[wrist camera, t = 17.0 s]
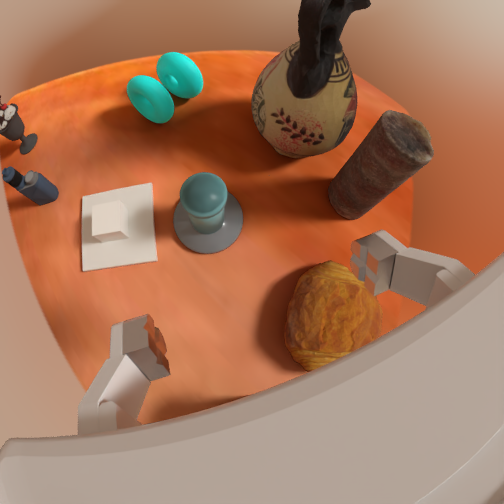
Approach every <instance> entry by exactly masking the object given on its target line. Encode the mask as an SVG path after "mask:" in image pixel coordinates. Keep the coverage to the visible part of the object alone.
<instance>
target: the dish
mask: <svg viewBox="0 0 504 504" xmlns="http://www.w3.org/2000/svg"><path fill="white" fill-rule="evenodd" d="M173 222H174V229H175V232H176V234H177V236H178V238H179V239H180V241H181V242H182V243H183V244H184V245H185V246H186V247H187V248H189V249H190V250H193V251H195V252H198V253H202V254H213V253H218V252H221V251H223V250H225V249H227V248H228V247H230V246H231V245H232V244H233V243H234V242H235V241H236V239H237V238H238V236H239V234H240V232H241V229H242V224H243V213H242V209H241V206H240V204H239V202H238V201H237V200H236V198H235V197H234V196H233V195H232V194H230V193H229V192H228V191H227V202H226V205H225V207H224V223H223V225H222V227H221V228H220V229H219V230H218V231H217V232H215V233H213V234H202V233H199V232H198V231H196V230H195V229H194V227H193V226H192V223H191V220H190V218H189V215H188V213H187V212H186V211H185V210H184V208H183V206H182V203H181V200H180V202H179V203H178V205H177V207H176V209H175V212H174V218H173Z"/></svg>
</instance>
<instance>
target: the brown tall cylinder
mask: <svg viewBox="0 0 504 504" xmlns="http://www.w3.org/2000/svg"><path fill="white" fill-rule="evenodd" d="M430 140H431V137H430V134H429V132H428V130H427V129H426V128H425V127H424V126H423V124H422V123H421V122H420V121H417V120H415V119H413V118H412V117H410V116H408V115H406V114H404V113H399V112H396V111H392V110H389V111H386V112H385V113H383V114H382V116H381V117H380V119H379V120H378V121H377V123H376V124H375V125H374V127H373V128H372V129H371V131H370V132H369V133H368V135H367V136H366V138H365V139H364V140H363V141H362V143H361V144H360V145H359V146H358V148H357V149H356V150H355V152H354V153H353V155H352V156H351V157H350V158H349V160H348V161H347V162H346V163H345V165H344V166H343V167H342V168H341V170H340V171H339V172H338V174H337V175H336V176H335V178H334V179H333V180H332V182H331V183H330V185H329V188H328V193H329V199H330V202H331V205H332V206H333V207H334V209H335V210H336V212H337V213H338V214H340V215H341V216H343V217H345V218H347V219H349V220H354V219H358V218H360V217H361V216H363V215H364V214H365V213H366V212H368V211H369V210H370V209H372V208H373V207H374V206H375V205H376V204H378V203H379V202H380V201H381V200H382V199H384V198H385V197H386V196H387V195H389V194H390V193H391V192H392V191H394V190H395V189H396V188H397V187H399V186H400V185H401V184H403V183H404V182H405V181H406V180H407V179H408V178H410V177H411V176H412V175H414V174H415V173H416V172H417V171H418V170H419V169H421V168H422V167H423V166H424V165H426V164H427V163H428V162H429V161H430V160H431V159H432V157H433V155H434V153H433V152H434V150H433V148H432V146H431V142H430Z"/></svg>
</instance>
